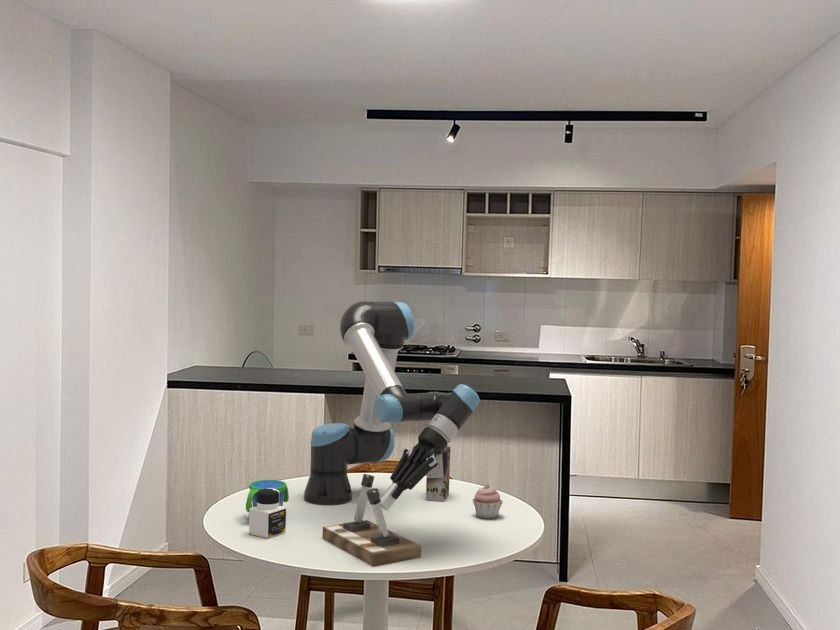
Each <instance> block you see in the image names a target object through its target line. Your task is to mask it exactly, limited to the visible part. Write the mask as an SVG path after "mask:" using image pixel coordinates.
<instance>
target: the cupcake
mask: <svg viewBox="0 0 840 630" xmlns="http://www.w3.org/2000/svg"><path fill="white" fill-rule="evenodd" d="M471 500H472V504H473V505H474V511H475V515H476V517H478V518H479V519H485V520H493V519H496V518H498V516H499V513H500V509H501V507H502V504H503V503H504V501H503V500H502V499H501V494H500V493H499V492H498V491H497V489H496V487H495V486H493V485H492V484H490V483H486V484H484V485H483V487H480V488H478V490H477V492H476V493H475V495H474V497H473V498H472V499H471Z"/></svg>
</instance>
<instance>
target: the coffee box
mask: <svg viewBox="0 0 840 630" xmlns="http://www.w3.org/2000/svg"><path fill="white" fill-rule="evenodd" d="M435 460H436V461H437V463H438V465H437V466H436V467H434V468H433V469H431V470H430V471H429V472H428V473H427V474H426V477H425V478H426V480H425V483H426V484H425V501H435V502H436V501H437V502H445V501H446V499H447V498H448V497H449V495H450V475H451V474H450V473H451V446H447V447H446V448H445V450H444V451H443V452H442V454H440V455H436V458H435Z"/></svg>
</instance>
